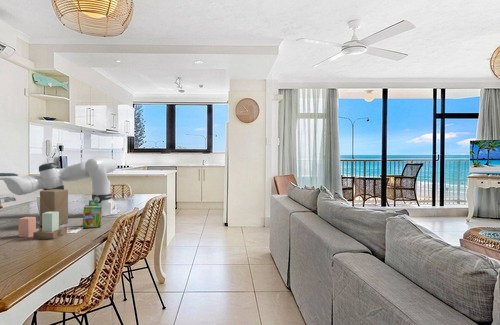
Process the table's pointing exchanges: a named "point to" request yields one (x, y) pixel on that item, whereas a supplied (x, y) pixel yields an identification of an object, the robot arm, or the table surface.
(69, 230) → the page
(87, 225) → the green printed box
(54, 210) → the wooden block
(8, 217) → the table surface
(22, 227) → the coral brick
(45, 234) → the walnut base
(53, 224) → the sage brick
